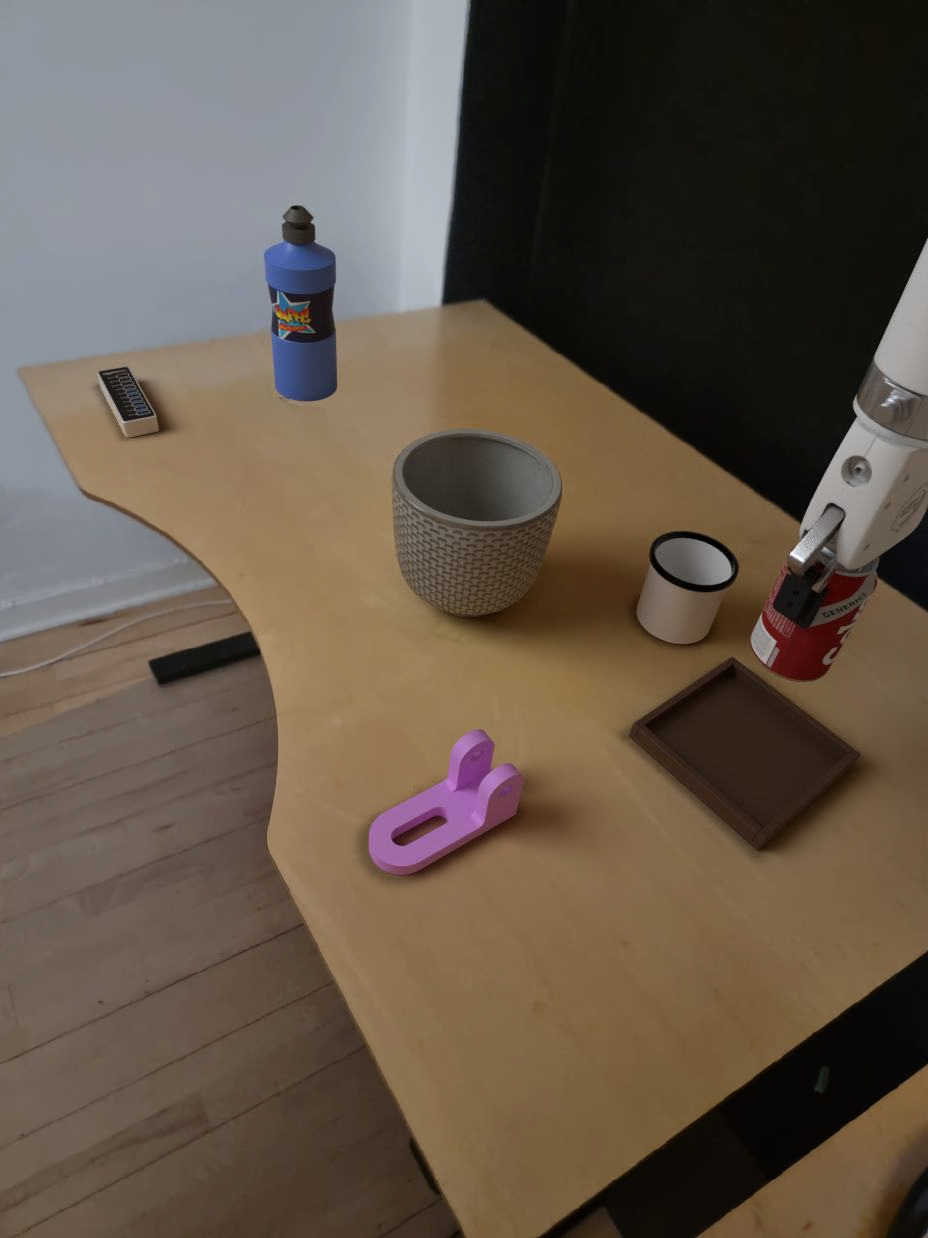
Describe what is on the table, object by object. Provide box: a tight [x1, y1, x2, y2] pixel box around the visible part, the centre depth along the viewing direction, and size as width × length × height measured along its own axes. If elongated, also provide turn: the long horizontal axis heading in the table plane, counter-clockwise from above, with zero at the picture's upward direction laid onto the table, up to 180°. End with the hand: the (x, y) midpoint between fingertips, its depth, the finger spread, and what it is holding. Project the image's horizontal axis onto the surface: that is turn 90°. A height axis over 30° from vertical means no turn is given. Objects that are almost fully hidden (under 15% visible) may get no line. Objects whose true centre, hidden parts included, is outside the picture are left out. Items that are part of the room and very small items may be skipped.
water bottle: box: [263, 204, 338, 403], centre depth 116 cm, size 9×9×25 cm
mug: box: [635, 530, 740, 645], centre depth 93 cm, size 12×10×9 cm
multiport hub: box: [96, 366, 160, 438], centre depth 116 cm, size 4×14×2 cm, turn 30°
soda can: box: [749, 539, 880, 683], centre depth 68 cm, size 7×7×12 cm
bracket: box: [368, 728, 525, 876], centre depth 71 cm, size 13×6×7 cm, turn 125°
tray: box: [628, 656, 861, 852], centre depth 82 cm, size 16×16×2 cm
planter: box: [390, 428, 563, 618], centre depth 90 cm, size 17×17×16 cm
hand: (818, 597), depth 68 cm, fingers closed on soda can, 6 cm apart
